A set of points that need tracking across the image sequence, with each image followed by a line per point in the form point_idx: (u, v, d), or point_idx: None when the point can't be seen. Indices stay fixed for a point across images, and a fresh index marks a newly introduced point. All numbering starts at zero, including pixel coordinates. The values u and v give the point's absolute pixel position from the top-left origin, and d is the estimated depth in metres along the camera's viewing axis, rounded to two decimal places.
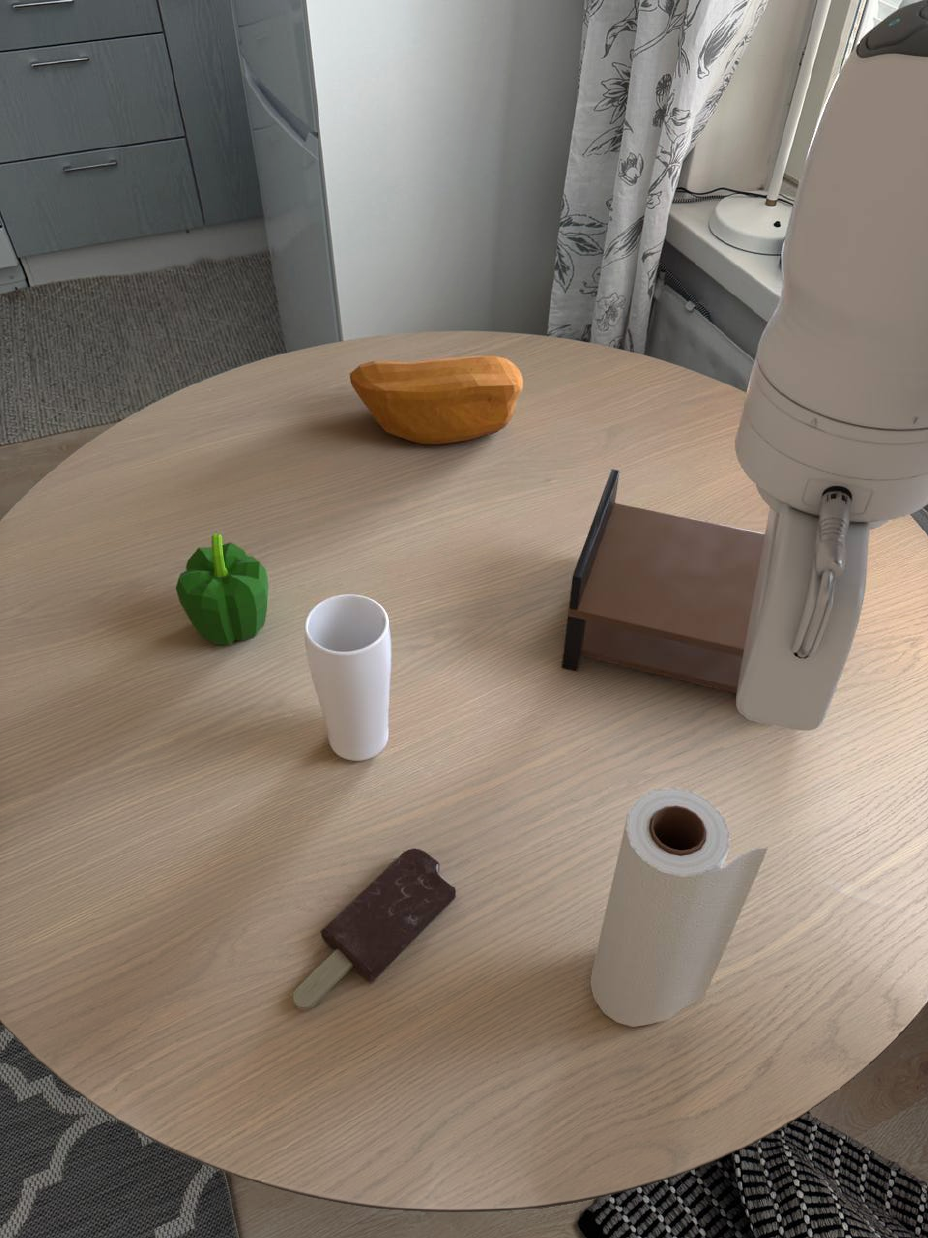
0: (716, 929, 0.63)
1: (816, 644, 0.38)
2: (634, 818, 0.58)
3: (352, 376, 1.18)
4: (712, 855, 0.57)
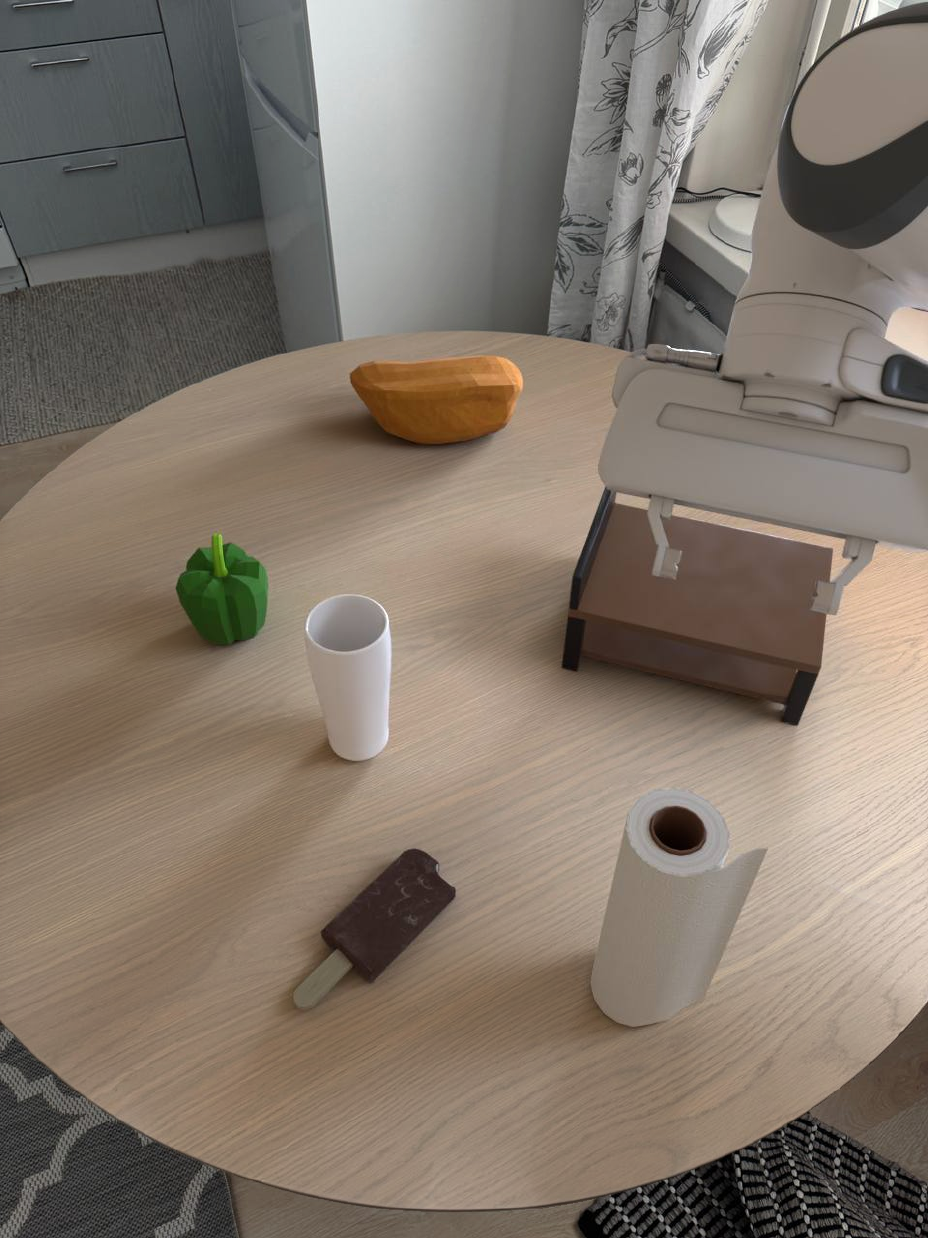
0: (716, 929, 0.63)
1: (614, 385, 0.61)
2: (634, 818, 0.58)
3: (352, 376, 1.18)
4: (712, 855, 0.57)
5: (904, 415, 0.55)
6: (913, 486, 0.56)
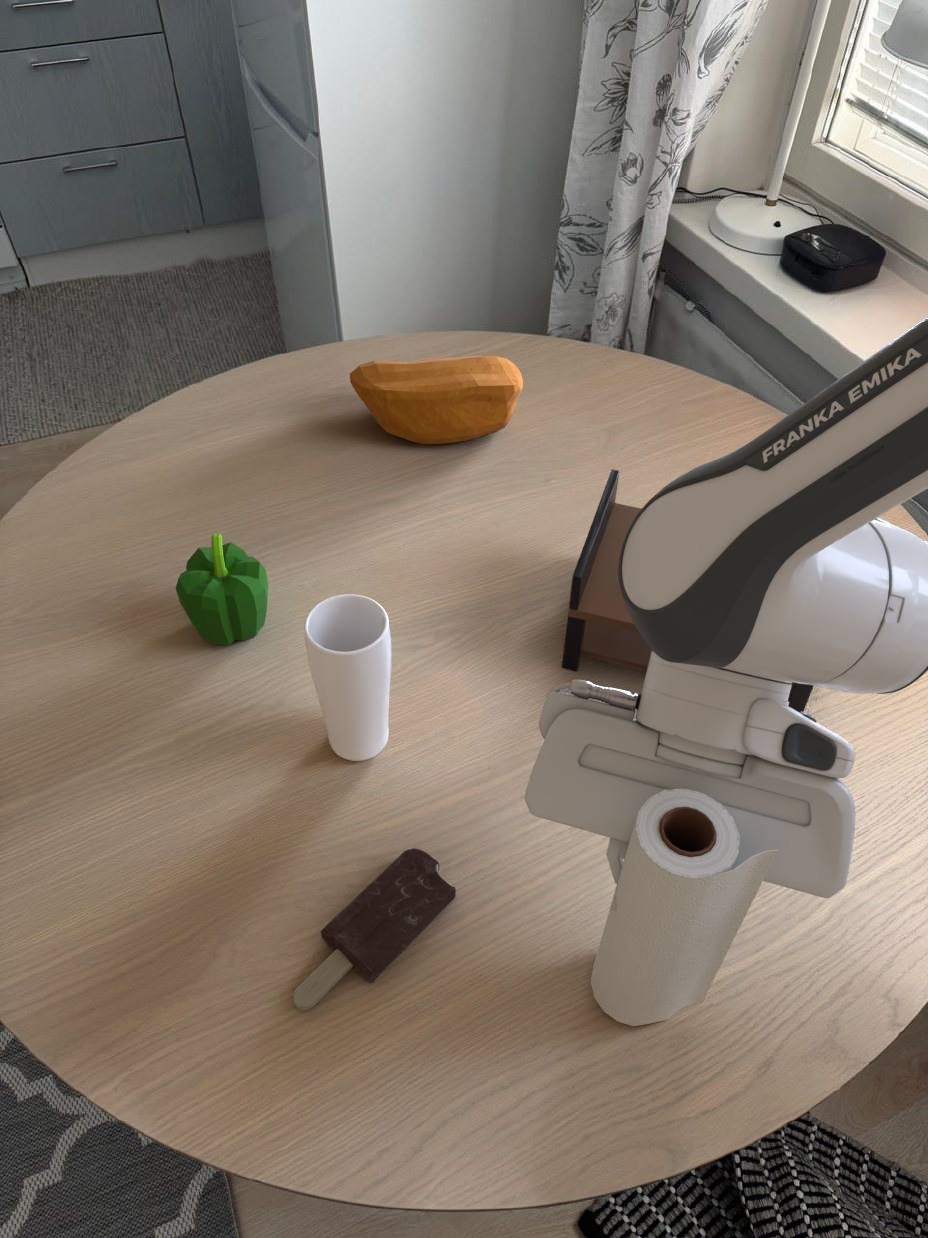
0: (721, 930, 0.63)
1: (540, 717, 0.65)
2: (644, 818, 0.58)
3: (352, 376, 1.18)
4: (722, 857, 0.57)
5: (804, 778, 0.59)
6: (814, 839, 0.60)
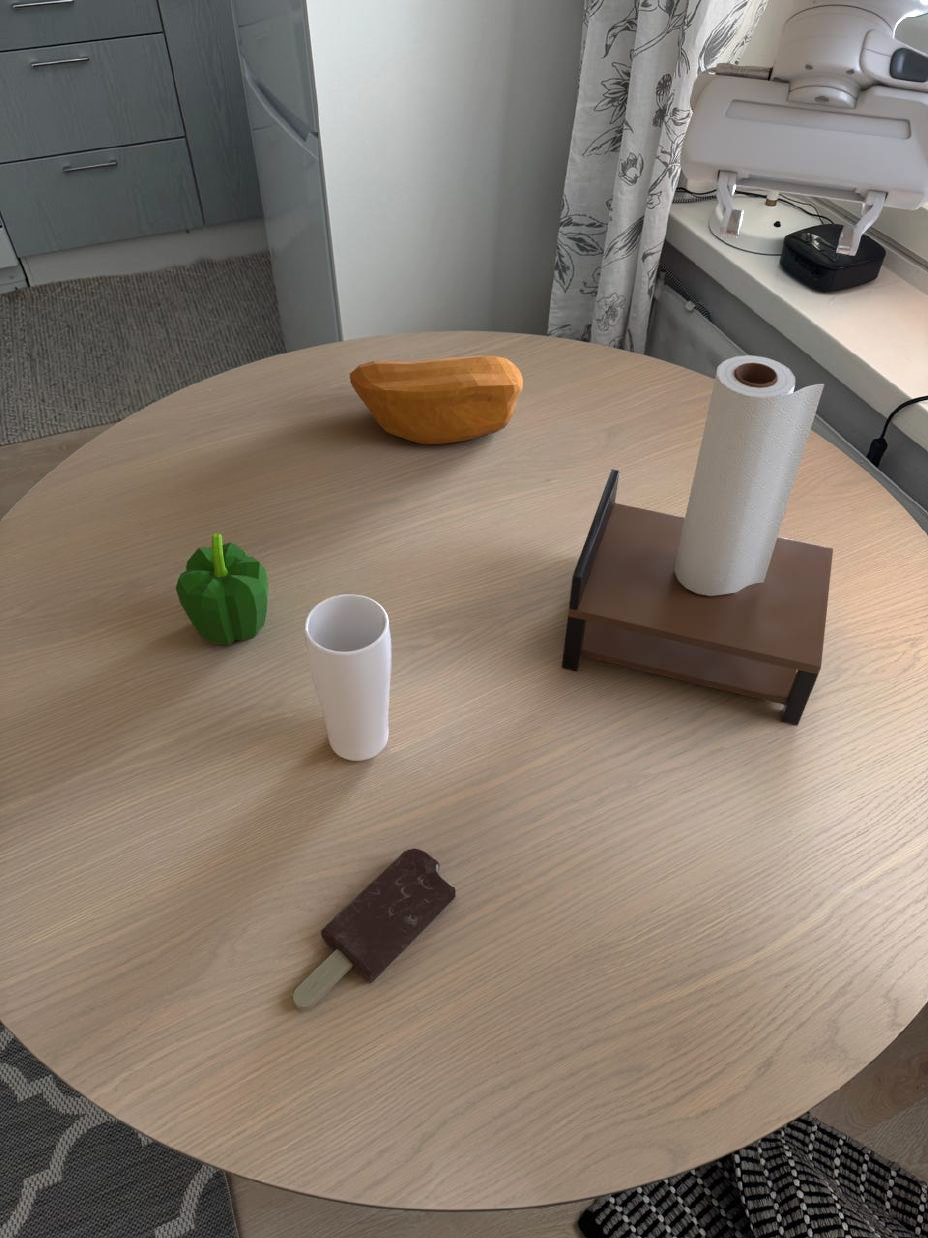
0: (780, 482, 0.82)
1: (691, 94, 0.83)
2: (722, 369, 0.77)
3: (352, 376, 1.18)
4: (783, 387, 0.76)
5: (907, 93, 0.77)
6: (913, 147, 0.78)
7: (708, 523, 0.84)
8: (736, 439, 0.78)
